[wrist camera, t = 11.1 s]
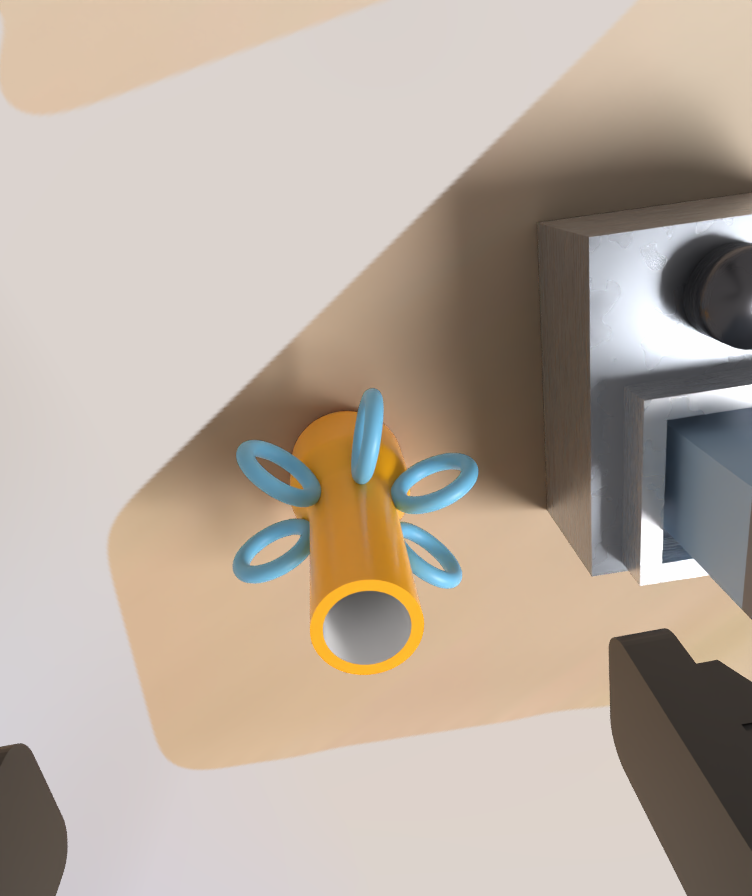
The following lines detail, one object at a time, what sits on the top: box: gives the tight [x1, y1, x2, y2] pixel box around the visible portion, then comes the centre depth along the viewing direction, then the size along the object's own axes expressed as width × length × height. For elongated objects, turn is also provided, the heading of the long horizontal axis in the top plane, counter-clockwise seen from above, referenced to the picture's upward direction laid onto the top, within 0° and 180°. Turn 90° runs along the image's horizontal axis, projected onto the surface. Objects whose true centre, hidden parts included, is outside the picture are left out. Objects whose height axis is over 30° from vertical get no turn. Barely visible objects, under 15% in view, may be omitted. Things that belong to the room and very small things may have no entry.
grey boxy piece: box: [537, 193, 752, 586], centre depth 34 cm, size 16×12×9 cm
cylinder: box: [233, 388, 478, 675], centre depth 32 cm, size 12×10×15 cm
